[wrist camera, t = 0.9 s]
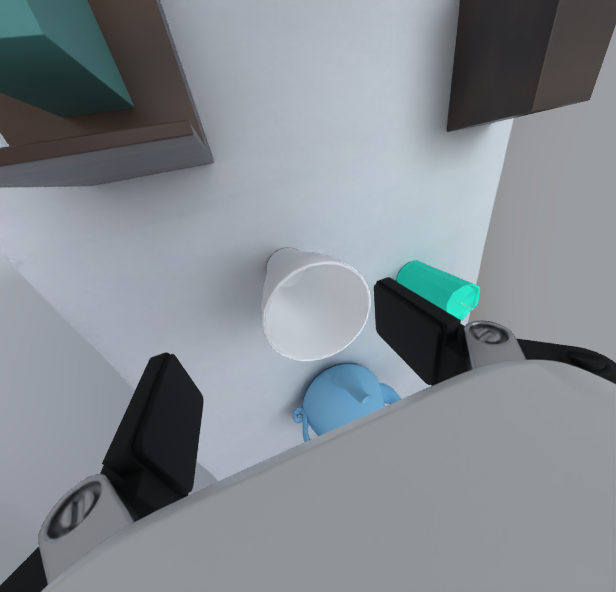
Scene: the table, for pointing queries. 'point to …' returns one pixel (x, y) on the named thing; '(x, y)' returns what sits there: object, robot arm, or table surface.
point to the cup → (312, 304)
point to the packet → (58, 58)
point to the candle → (440, 288)
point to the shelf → (112, 114)
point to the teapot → (342, 398)
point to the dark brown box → (526, 57)
